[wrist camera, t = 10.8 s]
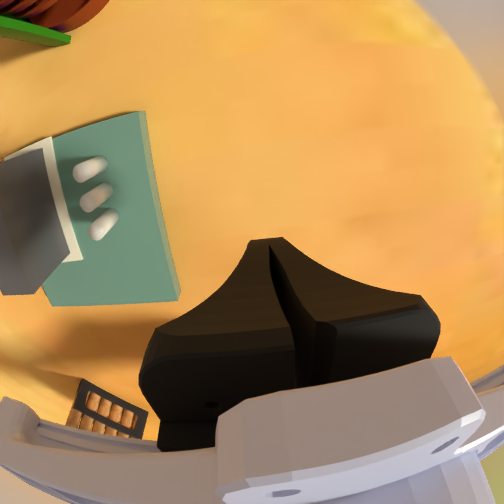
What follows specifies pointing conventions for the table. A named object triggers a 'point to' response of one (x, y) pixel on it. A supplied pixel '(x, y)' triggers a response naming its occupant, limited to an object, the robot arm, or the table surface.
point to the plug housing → (28, 225)
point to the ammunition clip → (105, 413)
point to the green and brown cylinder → (45, 19)
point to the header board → (108, 216)
